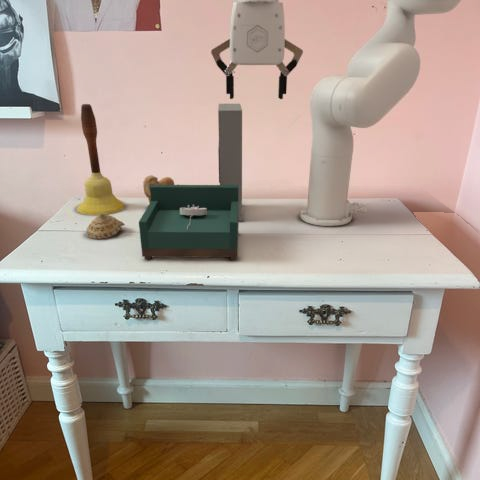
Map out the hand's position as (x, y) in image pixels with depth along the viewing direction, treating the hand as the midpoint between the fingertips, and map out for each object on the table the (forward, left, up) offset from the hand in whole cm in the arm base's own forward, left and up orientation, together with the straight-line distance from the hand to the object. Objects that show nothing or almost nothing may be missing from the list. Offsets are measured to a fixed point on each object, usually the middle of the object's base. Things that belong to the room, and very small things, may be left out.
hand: (256, 98), depth 94 cm
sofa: (+13, +7, -28) cm, 32 cm away
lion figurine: (+24, -22, -28) cm, 43 cm away
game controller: (+13, +8, -22) cm, 28 cm away
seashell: (+34, -1, -28) cm, 44 cm away
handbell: (+40, -20, -28) cm, 53 cm away
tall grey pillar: (+6, -16, -28) cm, 33 cm away
